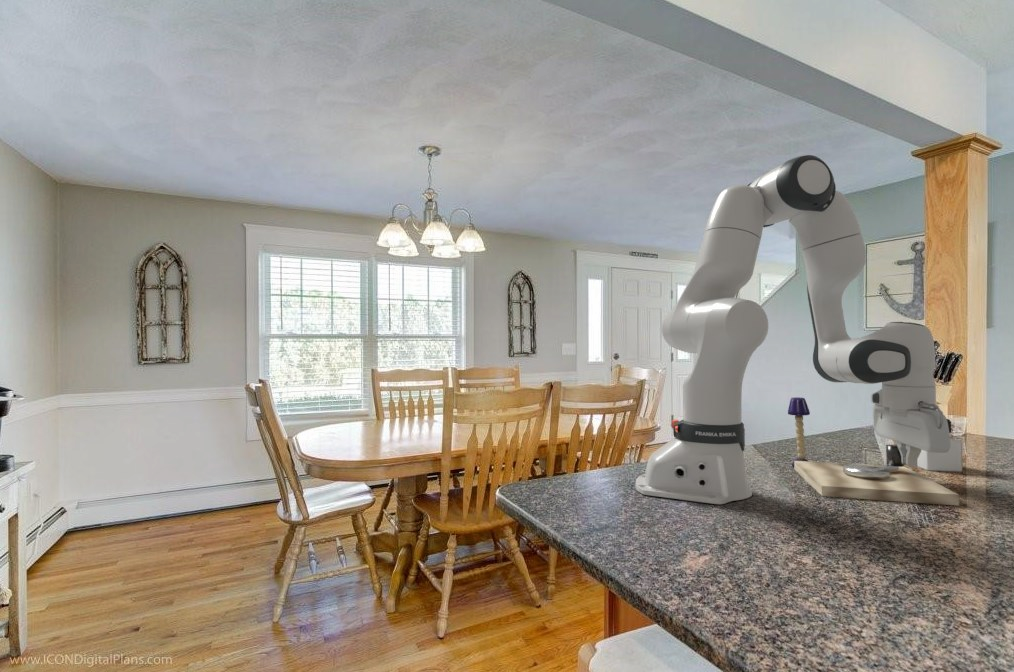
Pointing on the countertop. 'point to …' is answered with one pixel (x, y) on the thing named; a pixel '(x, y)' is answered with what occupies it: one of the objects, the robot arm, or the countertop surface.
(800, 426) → the toy lamp
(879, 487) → the birch stand
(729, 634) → the countertop surface
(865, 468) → the silver disc with handle
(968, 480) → the countertop surface
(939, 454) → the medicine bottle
